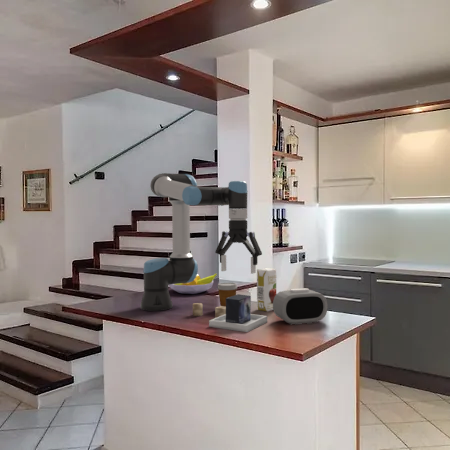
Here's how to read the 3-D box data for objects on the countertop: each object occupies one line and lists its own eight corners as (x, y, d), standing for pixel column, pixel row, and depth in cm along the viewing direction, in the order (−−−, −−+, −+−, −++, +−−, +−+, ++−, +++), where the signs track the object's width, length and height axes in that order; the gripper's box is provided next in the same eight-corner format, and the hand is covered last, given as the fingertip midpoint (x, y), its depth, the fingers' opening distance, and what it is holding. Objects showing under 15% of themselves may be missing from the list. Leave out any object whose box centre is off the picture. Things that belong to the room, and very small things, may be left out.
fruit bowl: (158, 293, 251) (158, 273, 250) (188, 286, 273) (188, 268, 273) (196, 298, 235) (196, 277, 234) (225, 290, 257) (225, 271, 257)
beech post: (190, 315, 195) (190, 304, 195) (196, 313, 199) (196, 302, 199) (198, 316, 193) (198, 305, 193) (204, 314, 197) (204, 303, 196)
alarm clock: (282, 326, 175) (281, 292, 175) (272, 320, 184) (272, 288, 184) (328, 322, 181) (328, 289, 181) (317, 317, 190) (317, 286, 190)
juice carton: (254, 309, 205) (254, 269, 205) (265, 306, 212) (265, 267, 211) (267, 312, 200) (267, 270, 200) (278, 309, 207) (278, 268, 206)
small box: (239, 326, 173) (239, 299, 172) (224, 324, 176) (224, 298, 176) (251, 320, 182) (251, 295, 181) (237, 318, 185) (237, 293, 185)
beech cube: (215, 318, 190) (215, 307, 190) (220, 316, 194) (220, 305, 194) (224, 319, 188) (224, 308, 188) (229, 317, 192) (229, 306, 192)
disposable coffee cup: (235, 312, 201) (235, 286, 201) (215, 311, 203) (215, 285, 202) (239, 307, 210) (239, 282, 210) (219, 307, 212) (219, 282, 212)
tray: (209, 326, 175) (209, 320, 175) (231, 317, 191) (231, 311, 191) (246, 332, 167) (246, 325, 167) (267, 322, 182) (267, 315, 182)
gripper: (207, 219, 181) (207, 271, 181) (261, 220, 168) (261, 275, 169) (216, 219, 187) (217, 269, 188) (270, 219, 174) (270, 273, 175)
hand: (238, 272), depth 178 cm, fingers open, 13 cm apart
